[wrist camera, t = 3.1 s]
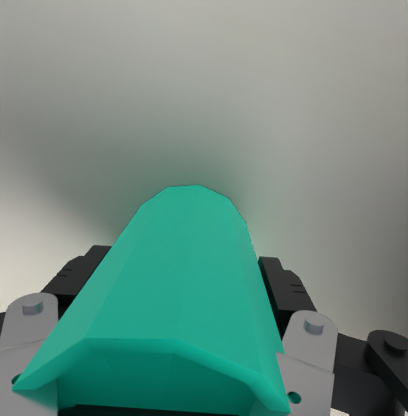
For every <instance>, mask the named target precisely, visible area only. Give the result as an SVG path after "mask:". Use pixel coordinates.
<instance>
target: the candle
mask: <svg viewBox="0 0 408 416" xmlns="http://www.w3.org/2000/svg"><path fill="white" fill-rule="evenodd" d="M276 351H278V352H281V353H283V354H285V352H284V348H283V345H282V341H281V338H280V335H279V331H278V328H277V325H276V322H275V318H274V315H273V312H272V308H271V305H270V302H269V298H268V295H267V292H266V288H265V285H264V282H263V278H262V275H261V272H260V268H259V265H258V262H257V258H256V255H255V252H254V248H253V245H252V242H251V239H250V235H249V232H248V229H247V225H246V222H245V221H244V220H243V218H242V217H241V215H240V214H239V212H238V211H237V210H236V208H235V207H234V205H233V204H232V202H231V201H230V199H229V198H227V197H225V196H223V195H221V194H219V193H217V192H214V191H212V190H210V189H208V188H206V187H204V186H201V185H188V186H175V187H167V188H165V189H164V190H162V191H161V192H159V193H158V194H157V195H155V196H154V197H152V198H151V199H149V200H148V201H146V202H145V203H144V204H142V205H141V207H140V208H139V210H138V211H137V212H136V214H135V215H134V217H133V218H132V219H131V221H130V222H129V224H128V225H127V226H126V228H125V229H124V231H123V232H122V233H121V235H120V236H119V238H118V239H117V240H116V242H115V243H114V245H113V246H112V247H111V249H110V250H109V252H108V253H107V254H106V256H105V257H104V259H103V260H102V261H101V263H100V264H99V266H98V267H97V268H96V270H95V271H94V273H93V274H92V275H91V277H90V278H89V280H88V281H87V282H86V284H85V285H84V287H83V288H82V289H81V291H80V292H79V294H78V295H77V296H76V298H75V299H74V301H73V302H72V303H71V305H70V306H69V308H68V309H67V310H66V312H65V313H64V315H63V316H62V317H61V319H60V320H59V322H58V323H57V324H56V326H55V327H54V329H53V330H52V331H51V333H50V334H49V336H48V337H47V339H46V340H45V341H44V343H43V344H42V346H41V347H40V348H39V350H38V351H37V353H36V354H35V355H34V357H33V358H32V360H31V361H30V362H29V364H28V365H27V367H26V368H25V369H24V371H23V372H22V374H21V375H20V376H19V378H18V379H17V381H16V382H15V383H14V385H13V386H12V389H11V390H35V389H37V388H39V387H41V386H43V385H45V384H47V383H49V382H51V381H53V380H55V379H57V380H58V388H59V410H62V409H66V408H69V407H75V406H76V404H85V405H99V406H114V407H128V408H143V409H157V410H172V411H186V412H201V413H215V414H230V415H239V416H249V414H250V411H251V409H252V406H253V404H254V401H255V399H256V397H257V398H258V399H259V400H260V401H261V402H262V403H263V404H264V405H265V406H266V407H267V408H268V409H269V410H273V411H283V412H291V410H290V406H289V402H288V400H289V401H290V402H292V403H294V401H293V400H292V398H291V397H290V396H289V395H286V391H285V387H284V383H283V379H282V376H281V372H280V368H279V364H278V360H277V356H276ZM294 404H295V403H294Z"/></svg>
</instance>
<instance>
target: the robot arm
mask: <svg viewBox="0 0 408 416" xmlns="http://www.w3.org/2000/svg"><path fill="white" fill-rule="evenodd" d="M111 247H112V246H100V245H93V246H92V247H91V249H90V250H89V251H88V252H87V253H86V254H85V256H78V257H76V258H74V259H72V260H71V261H69V262H68V263H67V264H66V265H65V266H64V267H63V268H62V270H60V271H59V272H58V273H57V275H56V276H55V277H54V278H53V279H52V280H51V281H50V282H49V283H48V284H47V285H46V286H45V288H44V289H43V290H42V291H41V292H40V293H33V294H29V295H25V296H23V297H20V298H18V299H16V300H15V301H13V302H12V303H11V304H10V305H9V306H8V308H7V310H6V312H2V313H0V416H239V415H230V414H215V413H201V412H186V411H172V410H157V409H143V408H128V407H114V406H99V405H85V404H76V406H75V407H69V408H66V409H62V410H59V388H58V380H57V379H55V380H53V381H51V382H49V383H47V384H45V385H43V386H41V387H39V388H37V389H35V390H11V389H12V386H13V385H14V383H15V382H16V381H17V379H18V378H19V376H20V375H21V374H22V372H23V371H24V369H25V368H26V367H27V365H28V364H29V362H30V361H31V360H32V358H33V357H34V355H35V354H36V353H37V351H38V350H39V348H40V347H41V346H42V344H43V343H44V341H45V340H46V339H47V337H48V336H49V334H50V333H51V331H52V330H53V329H54V327H55V326H56V324H57V323H58V322H59V320H60V319H61V317H62V316H63V315H64V313H65V312H66V310H67V309H68V308H69V306H70V305H71V303H72V302H73V301H74V299H75V298H76V296H77V295H78V294H79V292H80V291H81V289H82V288H83V287H84V285H85V284H86V282H87V281H88V280H89V278H90V277H91V275H92V274H93V273H94V271H95V270H96V268H97V267H98V266H99V264H100V263H101V261H102V260H103V259H104V257H105V256H106V254H107V253H108V252H109V250H110V249H111ZM258 265H259V268H260V272H261V275H262V278H263V282H264V285H265V288H266V292H267V295H268V298H269V302H270V305H271V308H272V312H273V315H274V318H275V322H276V325H277V328H278V331H279V335H280V338H281V341H282V345H283V348H284V352H285V354H283V353H281V352H278V351H276V356H277V360H278V364H279V368H280V372H281V376H282V379H283V383H284V387H285V391H286V395H289V396H290V397H291V398H292V400H293V401H294V403H295V404H294V403H292V402H290V401H289V400H288V402H289V406H290V410H291V412H283V411H273V410H269V409H268V408H267V407H266V406H265V405H264V404H263V403H262V402H261V401H260V400H259V399H258V398H257V397H256V399H255V401H254V404H253V406H252V409H251V411H250V414H249V416H330V408H333V409H336V410H339V411H342V412H345V413H347V414H349V416H405V415H404V413H405V411H407V412H408V339H406V338H405V337H403V336H401V335H398V334H396V333H393V332H389V331H384V330H375V331H372V332H370V333H369V335H368V338H367V341H363V340H359V339H355V338H352V337H348V336H345V335H342V334H340V333H338V329H337V326H336V325H335V323H334V322H333V321H332V320H331V319H329V318H328V317H326V316H325V315H322V314H320V313H318V312H317V310H316V308H315V307H314V305H313V303H312V301H311V299H310V297H309V295H308V293H307V291H306V289H305V287H303V284H302V282H301V280H300V278H299V277H298V276H297V275H296V274H294V273H293V272H292V271H291V270H283V268H282V265H281V263H280V261H279V259H278V258H273V257H259V260H258Z"/></svg>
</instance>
